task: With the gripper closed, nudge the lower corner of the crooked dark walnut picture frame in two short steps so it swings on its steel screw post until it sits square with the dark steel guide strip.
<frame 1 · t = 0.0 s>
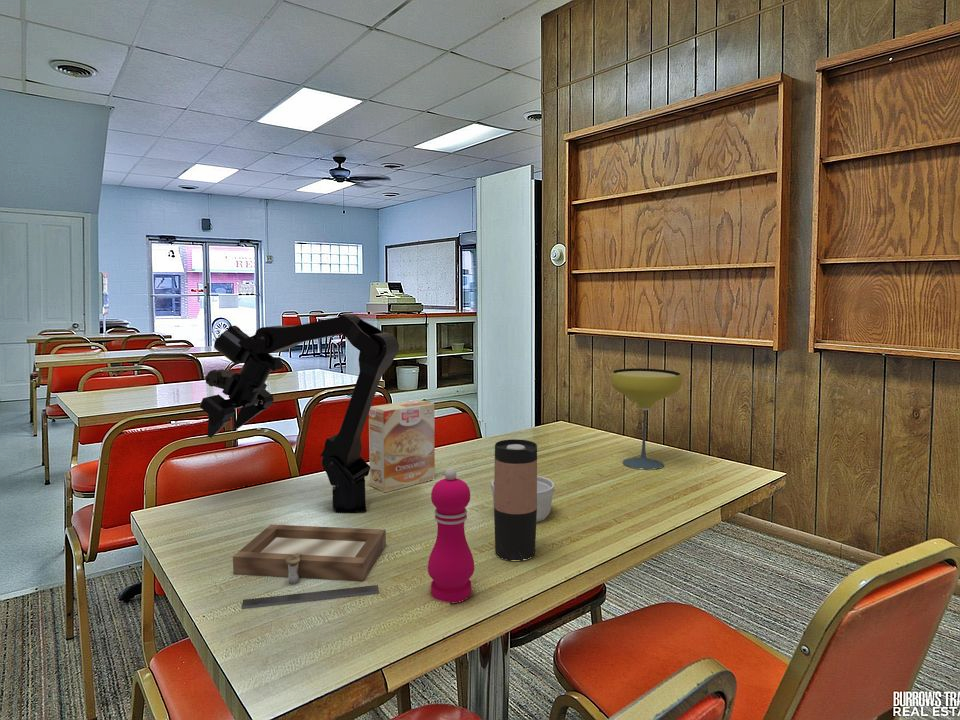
hand: (223, 431, 140), 15 cm above the table, tool tilted 35°, fingers open, 9 cm apart
cocktail glass: (643, 464, 167), on the table
travel mug: (515, 554, 111), on the table
screw post: (293, 584, 99), on the table
ramekin: (522, 515, 130), on the table
pepper mill: (451, 595, 96), on the table
coffeecake box: (402, 483, 151), on the table
picture frame: (310, 551, 106), point 2 cm above the table, hinge at -20.0°
guide strip: (312, 600, 94), on the table
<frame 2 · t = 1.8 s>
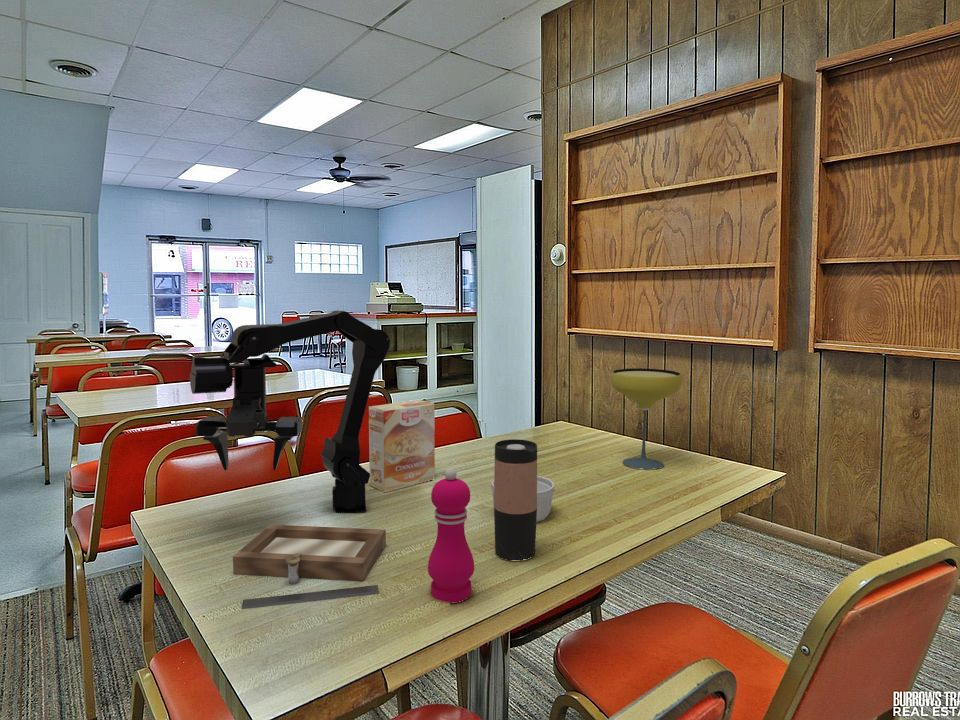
hand: (250, 469, 121), 12 cm above the table, tool pointing down, fingers open, 9 cm apart
nothing on the table moved.
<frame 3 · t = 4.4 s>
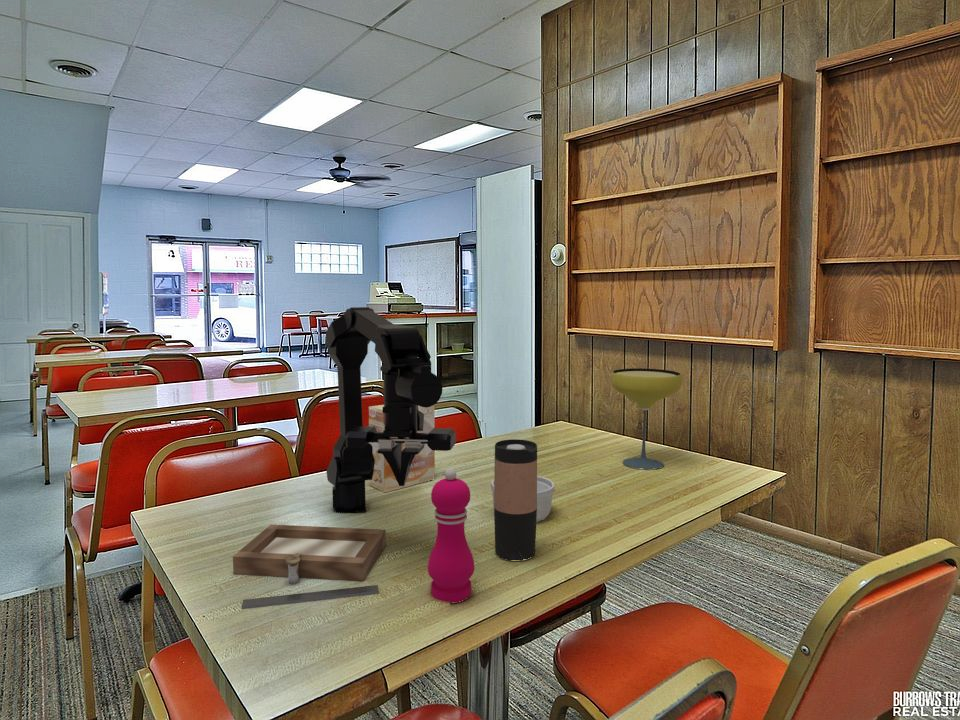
hand: (402, 485, 110), 12 cm above the table, tool pointing down, fingers closed
nothing on the table moved.
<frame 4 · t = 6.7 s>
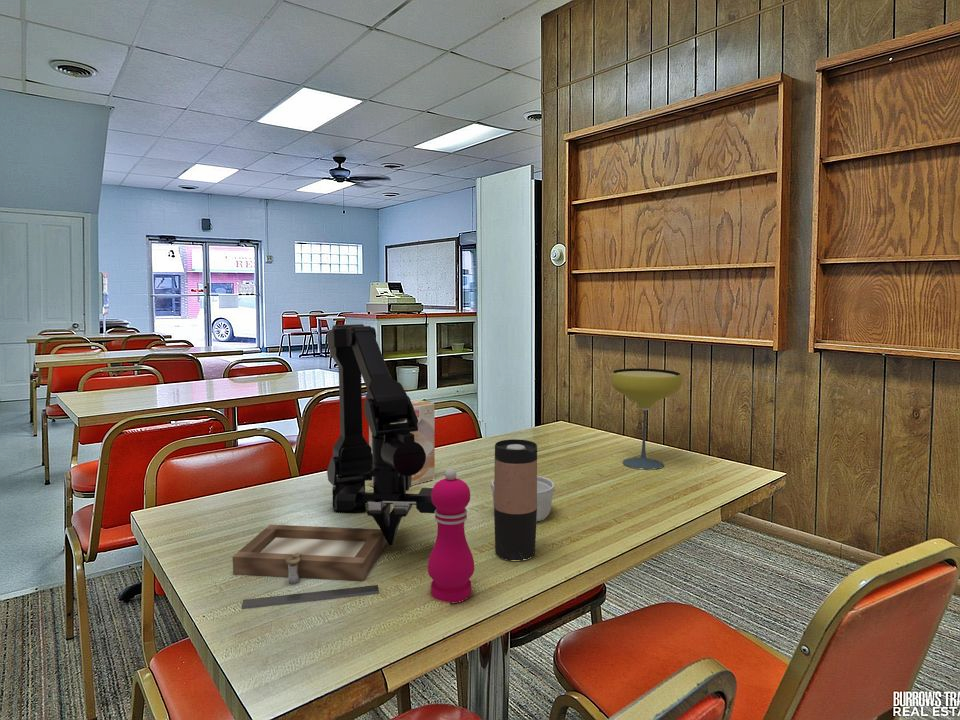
hand: (391, 544, 112), 1 cm above the table, tool pointing down, fingers closed
picture frame: (310, 551, 106), point 2 cm above the table, hinge at -19.7°, touching gripper
everything else where it was.
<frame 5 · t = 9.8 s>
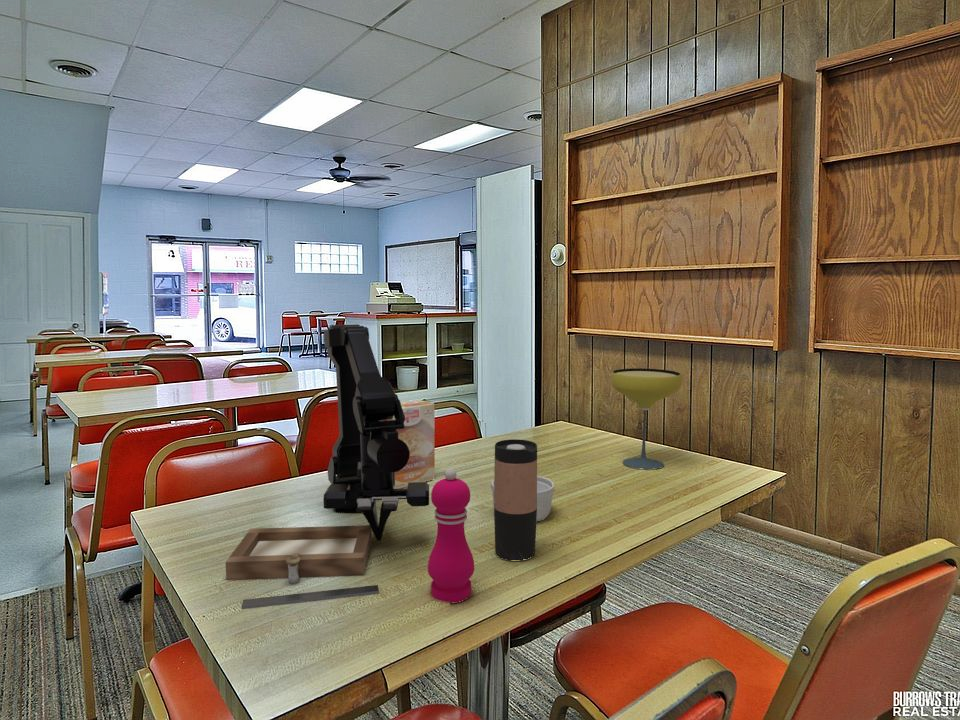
hand: (378, 539, 114), 1 cm above the table, tool pointing down, fingers closed
picture frame: (302, 551, 106), point 2 cm above the table, hinge at -9.0°, touching gripper
everything else where it was.
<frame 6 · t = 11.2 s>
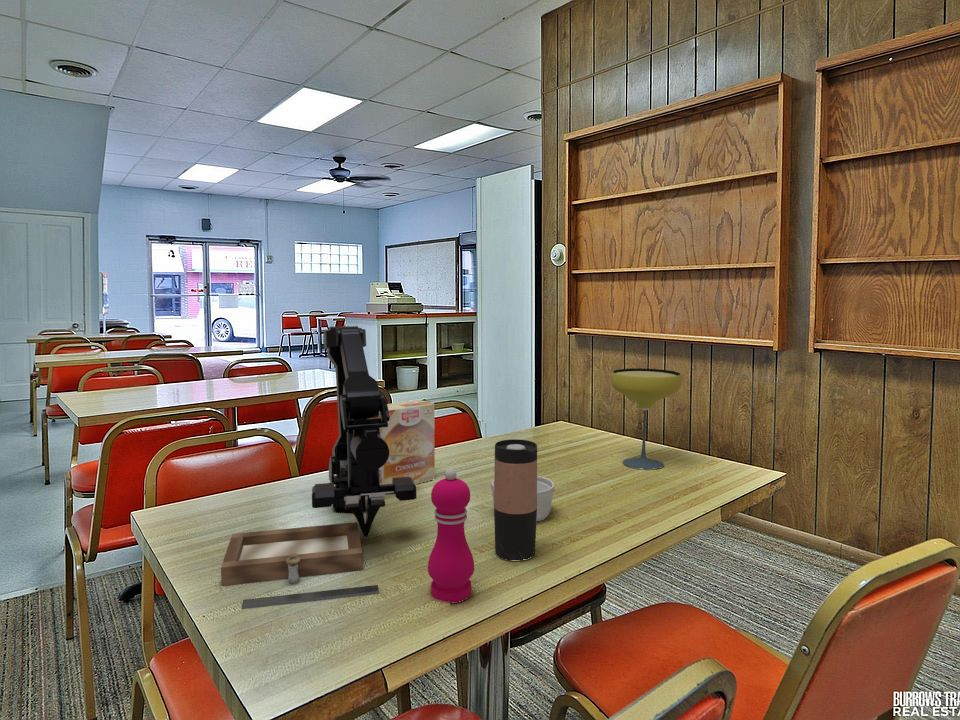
hand: (365, 536, 116), 1 cm above the table, tool pointing down, fingers closed
picture frame: (294, 552, 106), point 2 cm above the table, hinge at 1.1°, touching gripper
everything else where it was.
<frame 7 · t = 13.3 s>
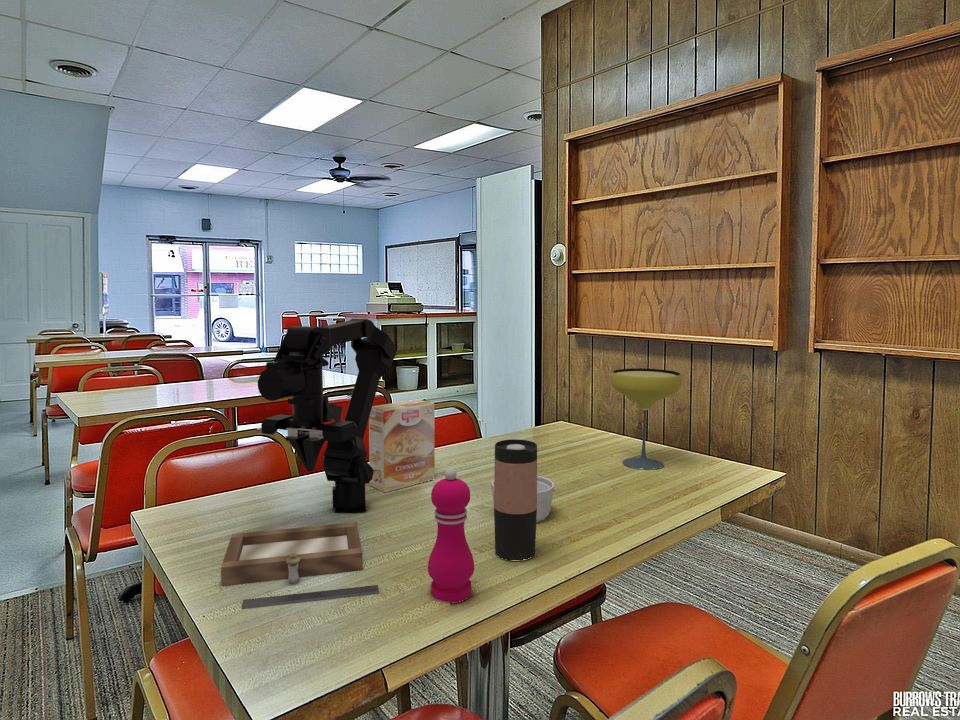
hand: (310, 471, 120), 12 cm above the table, tool pointing down, fingers closed
picture frame: (294, 552, 106), point 2 cm above the table, hinge at 1.3°
everything else where it was.
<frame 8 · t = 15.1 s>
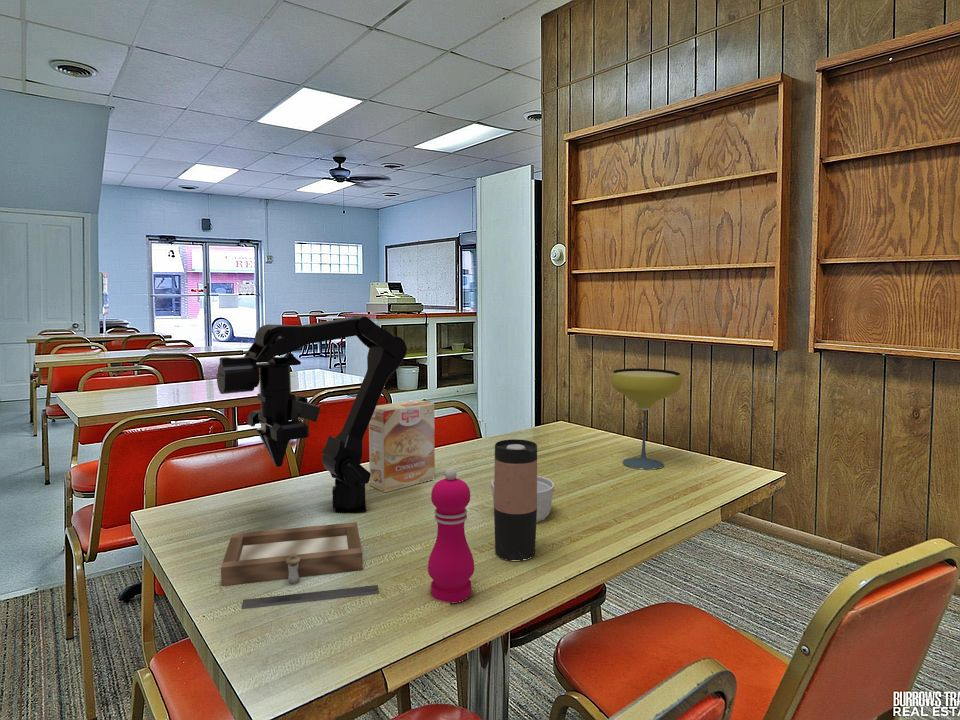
hand: (278, 466, 123), 12 cm above the table, tool pointing down, fingers closed
nothing on the table moved.
at the end: picture frame at +1° (first picture: -20°) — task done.
